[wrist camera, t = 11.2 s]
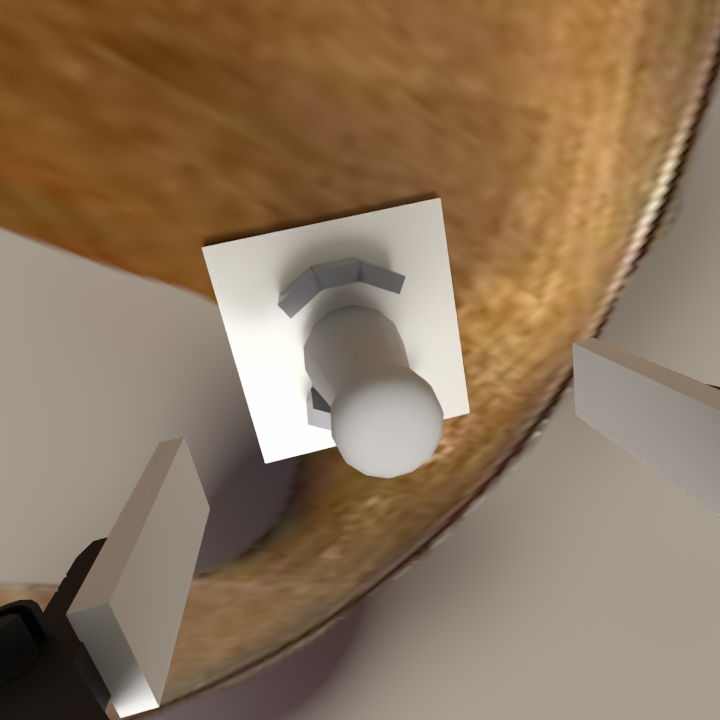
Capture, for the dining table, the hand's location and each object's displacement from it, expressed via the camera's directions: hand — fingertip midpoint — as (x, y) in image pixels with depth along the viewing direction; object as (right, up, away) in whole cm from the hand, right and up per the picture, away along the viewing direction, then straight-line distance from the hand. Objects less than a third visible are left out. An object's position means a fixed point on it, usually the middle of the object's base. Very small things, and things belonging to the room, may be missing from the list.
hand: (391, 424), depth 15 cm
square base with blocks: (-2, +4, +14) cm, 15 cm away
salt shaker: (-2, +3, +14) cm, 14 cm away
